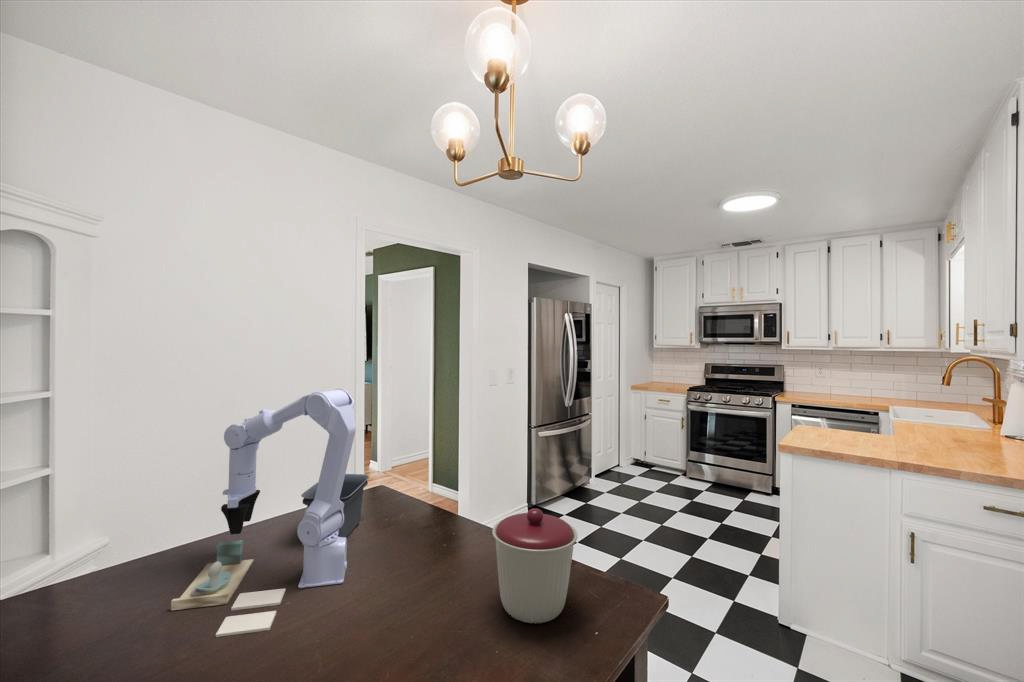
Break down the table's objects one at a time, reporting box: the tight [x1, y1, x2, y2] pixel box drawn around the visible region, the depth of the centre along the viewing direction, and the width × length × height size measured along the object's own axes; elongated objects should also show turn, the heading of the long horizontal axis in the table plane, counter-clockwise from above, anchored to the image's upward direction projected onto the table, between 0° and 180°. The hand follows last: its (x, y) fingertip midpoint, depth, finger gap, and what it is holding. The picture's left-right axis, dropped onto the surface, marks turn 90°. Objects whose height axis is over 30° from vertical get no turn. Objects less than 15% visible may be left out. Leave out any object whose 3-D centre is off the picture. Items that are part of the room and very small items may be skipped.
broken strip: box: [215, 588, 286, 638], centre depth 90 cm, size 9×14×1 cm, turn 16°
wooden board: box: [170, 539, 254, 611], centre depth 100 cm, size 10×19×5 cm, turn 16°
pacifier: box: [191, 560, 231, 596], centre depth 96 cm, size 7×6×6 cm
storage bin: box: [301, 473, 370, 539], centre depth 128 cm, size 21×16×14 cm
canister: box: [491, 508, 578, 624], centre depth 94 cm, size 18×18×21 cm
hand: (240, 527), depth 108 cm, fingers open, 7 cm apart
